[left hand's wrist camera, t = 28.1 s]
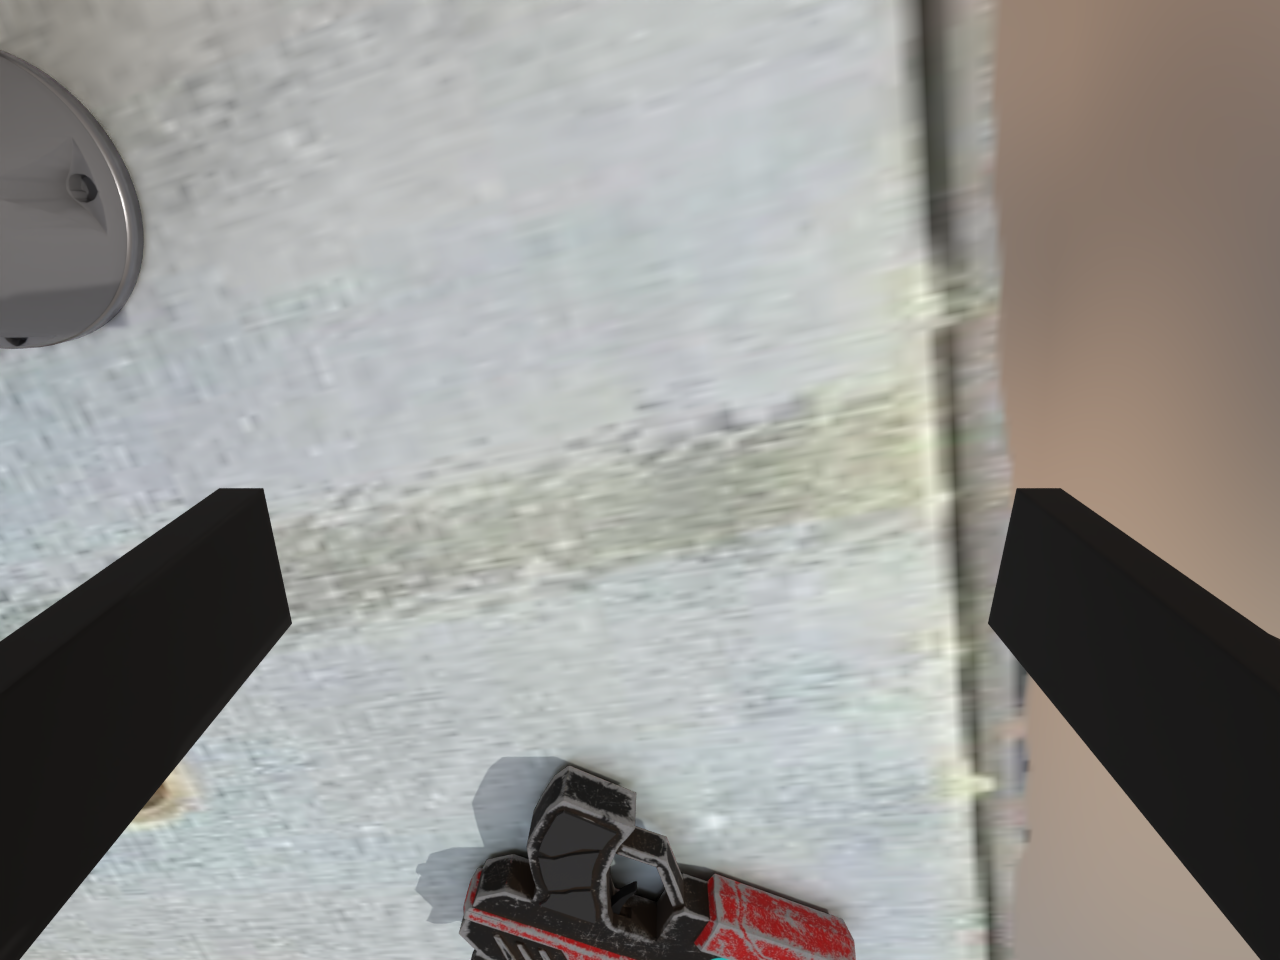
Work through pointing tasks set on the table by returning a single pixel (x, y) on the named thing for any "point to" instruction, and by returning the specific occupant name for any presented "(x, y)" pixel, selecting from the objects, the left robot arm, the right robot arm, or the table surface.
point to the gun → (626, 895)
